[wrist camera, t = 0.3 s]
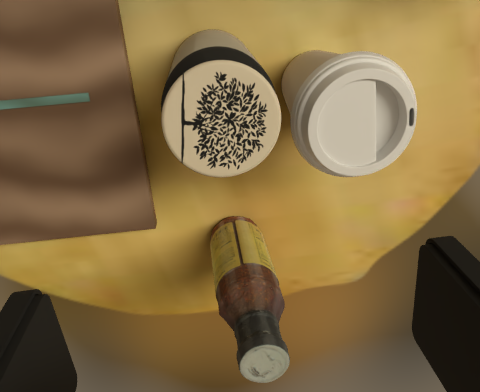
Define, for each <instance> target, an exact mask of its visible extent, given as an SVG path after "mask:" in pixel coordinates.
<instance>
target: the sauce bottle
mask: <svg viewBox="0 0 480 392" xmlns="http://www.w3.org/2000/svg"><path fill="white" fill-rule="evenodd" d="M210 251H211V259H212V268H213V276H214V284H215V292H216V298H217V301H218V305H219V314H220V316H221V317H222V318H224V320H225V321H226V322H227V323H228V325H229V326H230V327H231V328H232V329H233V331H234V332H235V337H236V339H237V345H238V351H237V361H238V365H239V370H240V372H241V374H242V375H243V376H244V377H245V378H247V379H248V380H251V381H255V382H259V383H267V382H271V381H273V380H276V379H277V378H279V377H280V376H281V375H283V374H284V372H285V371H286V370H287V368H288V366H289V361H290V358H289V354H288V349H287V346H286V344H285V342H284V341H283V340H282V338H281V335H280V331H279V320H280V317H281V314H282V312H283V310H284V299H283V296H282V294H281V290H280V287H279V282H278V279H277V276H276V273H275V270H274V267H273V264H272V261H271V258H270V255H269V252H268V249H267V246H266V243H265V240H264V237H263V234H262V232H261V231H260V229H259V228H258V227H257V225H256V224H255V223H254V222H253V221H252V220H251V219H249V218H245V217H238V216H237V217H234V216H233V217H228V218H226V219H224V220H222V221H221V222H220V223H218V224H217V225H216V226H215V227H214V229H213V231H212V235H211V242H210Z"/></svg>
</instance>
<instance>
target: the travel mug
mask: <svg viewBox="0 0 480 392" xmlns="http://www.w3.org/2000/svg"><path fill="white" fill-rule="evenodd" d="M161 112H162V118H161V121H162V130H163V134H164V137H165V140H166V143H167V145H168V147H169V148H170V150H171V151H172V153H173V154H174V155H175V157H176V158H177V159H178V160H179V161H180V162H181V163H183V164H184V165H185V166H186V167H188V168H190V169H191V170H193V171H195V172H197V173H200V174H203V175H206V176H211V177H231V176H236V175H239V174H242V173H245V172H247V171H249V170H251V169H253V168H254V167H256V166H257V165H258V164H260V163H261V162H262V161H263V160H264V159H265V158H266V157H267V156H268V155H269V153H270V152H271V151H272V149H273V147H274V145H275V143H276V141H277V139H278V136H279V132H280V127H281V109H280V104H279V101H278V98H277V95H276V93H275V89H274V86H273V84H272V82H271V80H270V78H269V76H268V75H267V73H266V72H265V71H264V69H263V68H262V67H261V66H260V64H259V63H258V62H257V61H256V59H255V58H254V57H253V55H252V54H251V53H250V52H249V50H248V49H247V48H246V47H245V45H244V44H243V43H242V42H241V41H240V40H239V39H238V38H236V37H235V36H233V35H232V34H230V33H227V32H225V31H221V30H204V31H200V32H197V33H195V34H193V35H192V36H190V37H189V38H187V39H186V40H185V41H184V42H183V43H182V44H181V46H180V47H179V49H178V50H177V52H176V54H175V57H174V60H173V63H172V66H171V69H170V72H169V75H168V78H167V81H166V84H165V87H164V91H163V95H162V101H161Z"/></svg>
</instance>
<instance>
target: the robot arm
mask: <svg viewBox="0 0 480 392" xmlns="http://www.w3.org/2000/svg"><path fill="white" fill-rule="evenodd" d="M412 332H413V336H414V339H415V341H416V343H417V344H418V345H419V347H420V349H421V351H422V352H423V354H424V356H425V357H426V359H427V360H428V362H429V363H430V365H431V367H432V368H433V370H434V372H435V373H436V375H437V377H438V378H439V380H440V381H441V383H442V385H443V386H444V388H445V390H446V391H447V392H480V262H479V261H478V260H477V259H476V258H475V257H474V256H473V255H472V254H471V253H470V252H469V251H468V250H467V249H466V248H465V247H464V246H463V245H462V244H461V243H460V242H459V241H458V240H457V239H456V238H454V237H453V236H446V237H437V238H431V239H428V240H427V241H426V244H425V245H422V246H421V247H420V250H419V260H418V270H417V281H416V290H415V300H414V311H413V321H412ZM76 387H77V374H76V370H75V367H74V364H73V362H72V359H71V356H70V353H69V351H68V348H67V345H66V342H65V339H64V336H63V333H62V331H61V328H60V325H59V322H58V319H57V317H56V314H55V311H54V308H53V305H52V302H51V299H50V297H49V296H48V295H47V294H43V295H42V292H41V291H40V290H38V289H35V290H27V291H20V292H14V293H12V294H11V295H10V297H9V298H8V300H7V302H6V303H5V305H4V307H3V309H2V310H1V312H0V392H75V391H76Z"/></svg>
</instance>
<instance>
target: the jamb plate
mask: <svg viewBox="0 0 480 392" xmlns="http://www.w3.org/2000/svg"><path fill="white" fill-rule="evenodd" d="M156 224H157V220H156V214H155V209H154V203H153V197H152V192H151V186H150V180H149V175H148V169H147V163H146V158H145V152H144V146H143V141H142V135H141V129H140V124H139V118H138V112H137V107H136V101H135V95H134V90H133V84H132V78H131V73H130V67H129V61H128V56H127V50H126V44H125V39H124V33H123V27H122V22H121V16H120V10H119V5H118V0H0V245H3V244H13V243H22V242H32V241H41V240H51V239H60V238H70V237H79V236H89V235H98V234H108V233H117V232H127V231H136V230H146V229H155V228H156Z"/></svg>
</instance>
